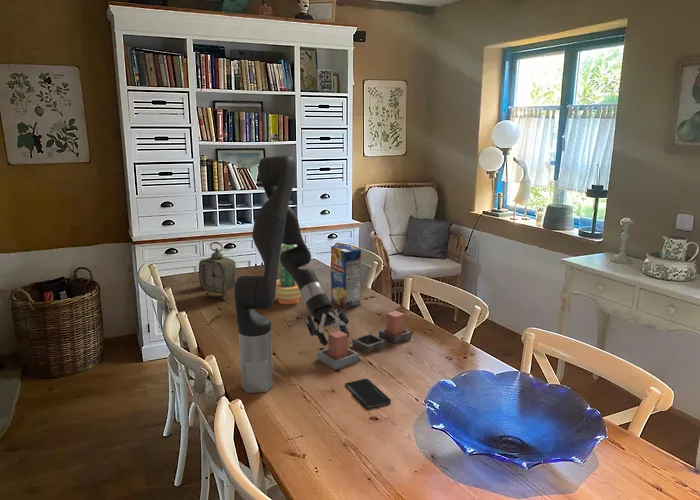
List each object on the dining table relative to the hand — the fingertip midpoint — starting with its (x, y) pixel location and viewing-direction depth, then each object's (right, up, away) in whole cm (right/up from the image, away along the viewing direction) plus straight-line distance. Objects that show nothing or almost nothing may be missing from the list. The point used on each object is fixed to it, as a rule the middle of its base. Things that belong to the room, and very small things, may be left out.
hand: (336, 341), depth 171 cm
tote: (0, -7, +1) cm, 7 cm away
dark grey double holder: (+15, -4, +12) cm, 20 cm away
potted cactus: (-22, +7, +59) cm, 64 cm away
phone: (+9, -12, -20) cm, 25 cm away
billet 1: (0, -6, +1) cm, 6 cm away
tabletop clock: (-53, +8, +65) cm, 84 cm away
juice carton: (+3, +7, +57) cm, 57 cm away
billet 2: (+20, -2, +16) cm, 26 cm away
